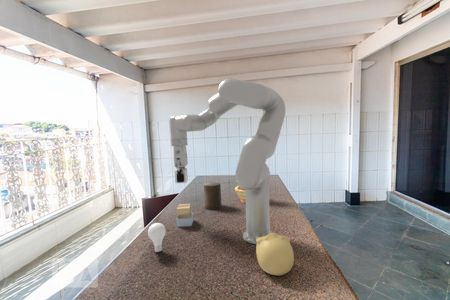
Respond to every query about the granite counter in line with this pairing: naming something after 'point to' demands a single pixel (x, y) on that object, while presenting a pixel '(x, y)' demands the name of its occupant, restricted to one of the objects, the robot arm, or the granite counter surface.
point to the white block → (184, 176)
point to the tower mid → (183, 211)
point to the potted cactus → (240, 193)
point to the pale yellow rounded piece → (275, 254)
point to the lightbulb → (157, 235)
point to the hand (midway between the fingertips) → (181, 180)
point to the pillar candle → (212, 195)
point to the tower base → (185, 221)
